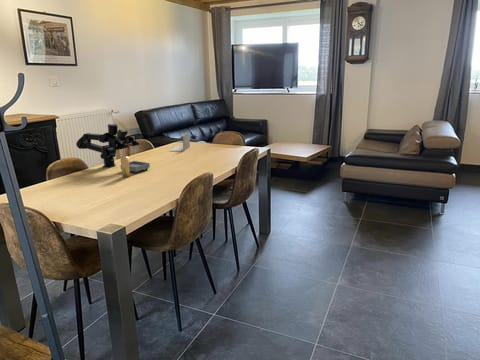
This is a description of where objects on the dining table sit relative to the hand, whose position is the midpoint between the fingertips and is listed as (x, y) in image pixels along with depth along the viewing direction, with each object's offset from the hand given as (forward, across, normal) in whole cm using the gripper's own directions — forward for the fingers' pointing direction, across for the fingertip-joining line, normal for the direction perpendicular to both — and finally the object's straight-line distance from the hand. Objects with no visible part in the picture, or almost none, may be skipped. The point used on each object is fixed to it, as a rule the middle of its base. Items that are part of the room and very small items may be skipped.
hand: (134, 145), depth 234 cm
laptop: (-14, +67, +19) cm, 71 cm away
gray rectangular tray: (+2, -1, +17) cm, 17 cm away
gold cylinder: (+7, -14, +16) cm, 23 cm away
